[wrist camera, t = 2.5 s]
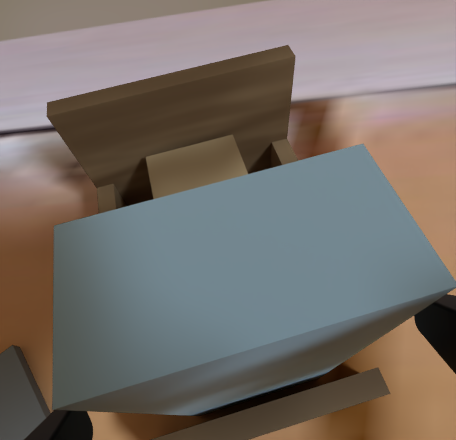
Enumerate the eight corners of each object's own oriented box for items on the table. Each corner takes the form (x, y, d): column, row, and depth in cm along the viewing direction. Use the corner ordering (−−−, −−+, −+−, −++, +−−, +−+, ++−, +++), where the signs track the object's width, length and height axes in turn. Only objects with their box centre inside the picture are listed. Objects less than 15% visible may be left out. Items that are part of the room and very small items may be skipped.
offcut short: (250, 219, 21) (248, 174, 17) (173, 240, 21) (153, 199, 17) (237, 182, 23) (232, 134, 19) (165, 202, 22) (145, 156, 18)
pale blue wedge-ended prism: (319, 378, 16) (457, 285, 5) (198, 415, 16) (52, 409, 4) (296, 317, 18) (363, 143, 6) (186, 350, 17) (53, 225, 6)
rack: (392, 390, 16) (498, 368, 9) (139, 472, 15) (36, 519, 8) (279, 154, 23) (287, 44, 17) (111, 198, 23) (47, 102, 16)
